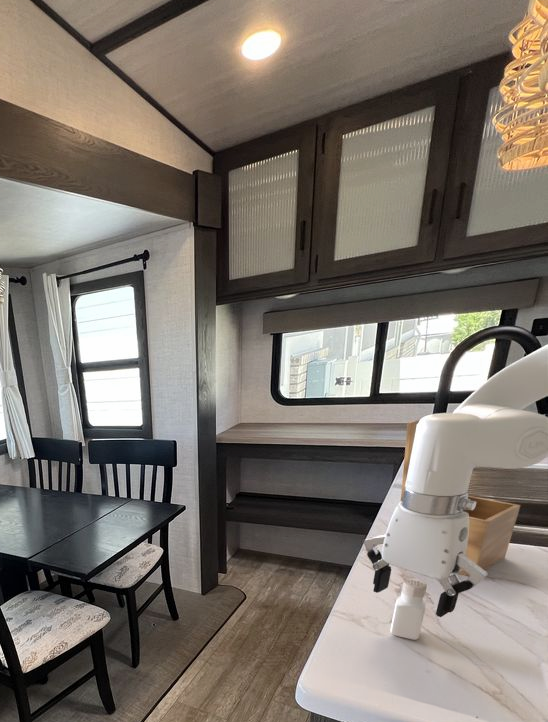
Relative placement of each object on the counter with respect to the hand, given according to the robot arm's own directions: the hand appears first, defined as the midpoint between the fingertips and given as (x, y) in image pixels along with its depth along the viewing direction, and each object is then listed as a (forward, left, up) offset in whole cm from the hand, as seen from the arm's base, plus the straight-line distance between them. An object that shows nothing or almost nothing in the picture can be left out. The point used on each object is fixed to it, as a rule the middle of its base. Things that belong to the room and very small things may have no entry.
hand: (410, 601), depth 76 cm
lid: (+18, -35, +14) cm, 42 cm away
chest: (+10, -35, -6) cm, 37 cm away
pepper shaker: (0, 0, -6) cm, 6 cm away
